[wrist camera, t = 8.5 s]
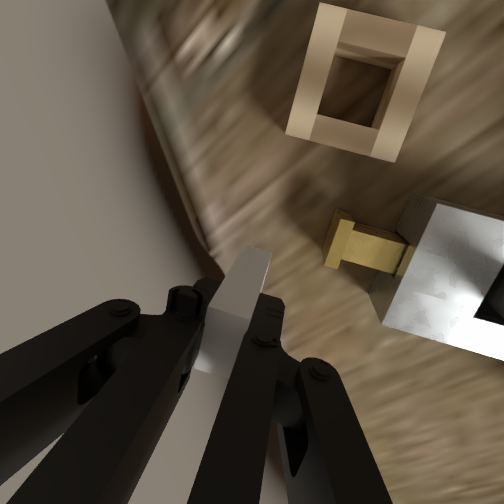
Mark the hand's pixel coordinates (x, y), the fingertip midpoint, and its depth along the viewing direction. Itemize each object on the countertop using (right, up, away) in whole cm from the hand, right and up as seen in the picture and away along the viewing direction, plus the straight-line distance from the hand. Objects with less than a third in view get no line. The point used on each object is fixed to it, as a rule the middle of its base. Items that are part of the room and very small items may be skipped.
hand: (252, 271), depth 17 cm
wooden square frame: (+9, +15, +11) cm, 20 cm away
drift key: (+13, +2, +14) cm, 19 cm away
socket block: (+20, 0, +14) cm, 25 cm away
